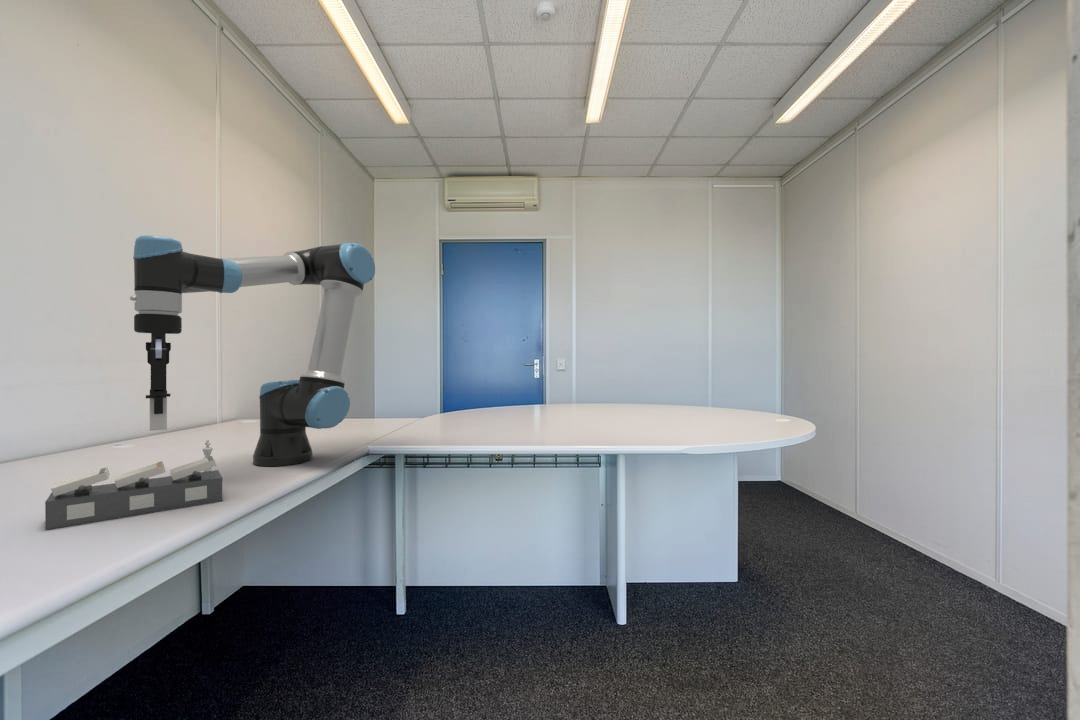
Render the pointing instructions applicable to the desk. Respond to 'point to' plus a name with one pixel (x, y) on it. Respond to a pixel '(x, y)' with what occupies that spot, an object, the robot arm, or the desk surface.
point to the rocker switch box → (131, 499)
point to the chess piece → (207, 452)
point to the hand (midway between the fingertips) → (158, 429)
